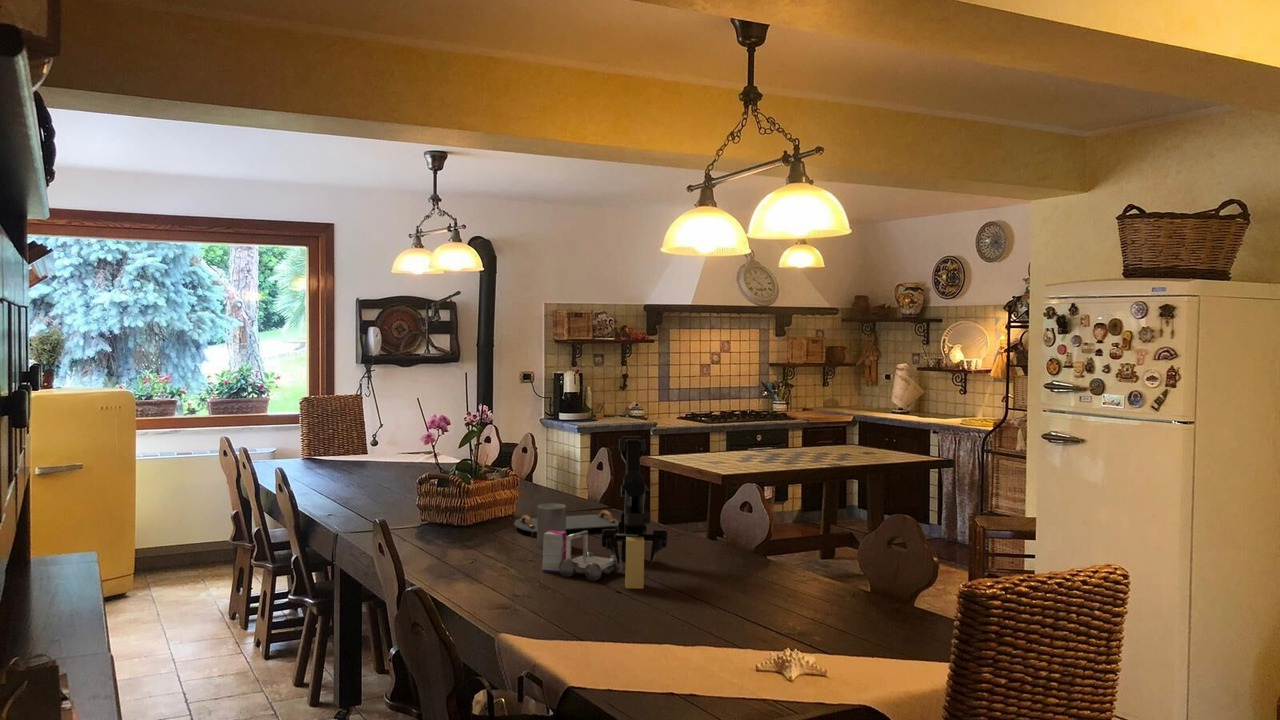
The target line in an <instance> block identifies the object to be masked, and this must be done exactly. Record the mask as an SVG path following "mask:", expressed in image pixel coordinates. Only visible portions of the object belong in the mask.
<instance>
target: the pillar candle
mask: <svg viewBox="0 0 1280 720" xmlns="http://www.w3.org/2000/svg"><path fill="white" fill-rule="evenodd" d="M536 509H537V512H536V513H537V514H536V515H537V517H536V518H537V537H536V547H537V548H539V549H541V550H542V549H543V545H544V533H546V532H548V531H549V530H551V531H564V532H567V530H566V516H567V506H566V504H564V503H559V502H558V503H557V502H556V503H555V502H551V503H550V502H548V503H540V504H538V505H537V508H536Z"/></svg>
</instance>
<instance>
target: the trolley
mask: <svg viewBox="0 0 1280 720" xmlns="http://www.w3.org/2000/svg"><path fill="white" fill-rule="evenodd" d="M578 538H582V555H580V556H577V557H575V558H572V541H573V540H575V539H578ZM588 538H589V531H588V529H584V530H582V531H580V532H579V531H578V532H576V533H572V534H569V535H567V536H566V559H565V560H562V561H561V562H560V564H559V571H560V575H561V576H562V577H564V578H569V577H571V576H573V575H575V573H576V570H577V568H581V569H584V575H585V577H586V579H587V580H588V581H590V582H596V581H599V580H600V579H601V577H602V575H603V574H602V573H603V571H604V570H608V572H609V573H613V574H616V573H619V572H620V571H621V570H622V569H623V566H624V565H623V560H621V558H620V557H621V556H619V565H618V564H617V562H616V560H615V557H614V555H613V554H612V555H611V556H608V557H601V556H597V555H596V554H595V553H594V552H593V551H589V549H588V547H589V545H588V542H589V541H588V540H589V539H588Z"/></svg>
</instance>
